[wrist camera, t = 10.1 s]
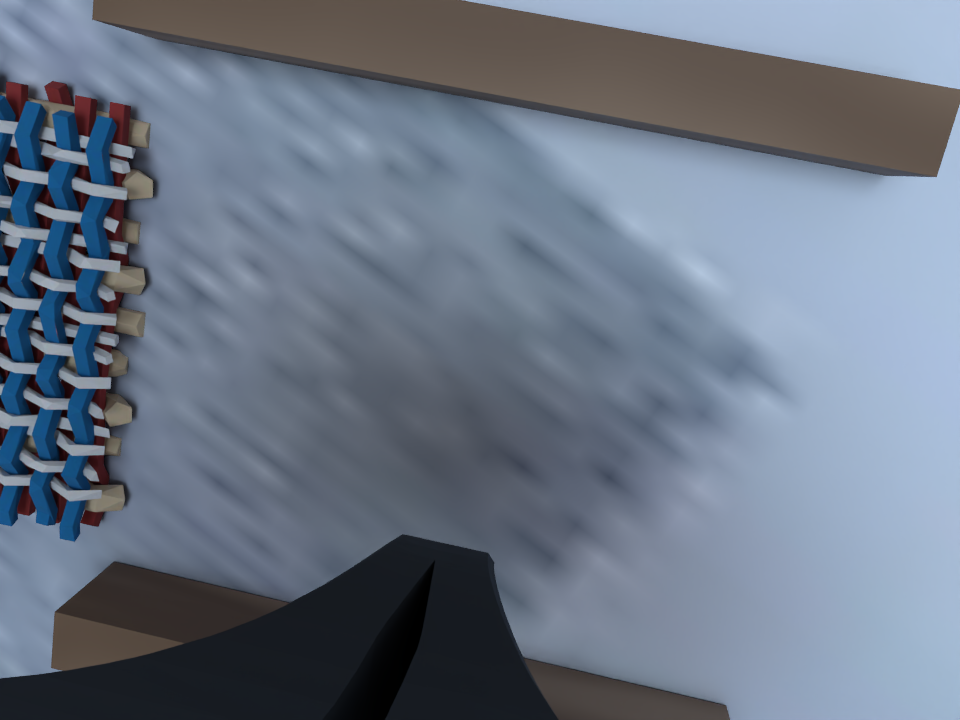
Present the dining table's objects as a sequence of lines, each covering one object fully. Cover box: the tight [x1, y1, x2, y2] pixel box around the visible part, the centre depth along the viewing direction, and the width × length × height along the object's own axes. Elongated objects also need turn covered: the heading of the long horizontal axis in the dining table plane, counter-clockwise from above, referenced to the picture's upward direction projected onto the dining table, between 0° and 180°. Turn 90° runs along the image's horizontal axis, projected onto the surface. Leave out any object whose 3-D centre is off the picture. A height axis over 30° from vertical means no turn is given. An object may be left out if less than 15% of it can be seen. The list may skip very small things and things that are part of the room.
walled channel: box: [51, 0, 960, 720], centre depth 18 cm, size 16×16×2 cm
